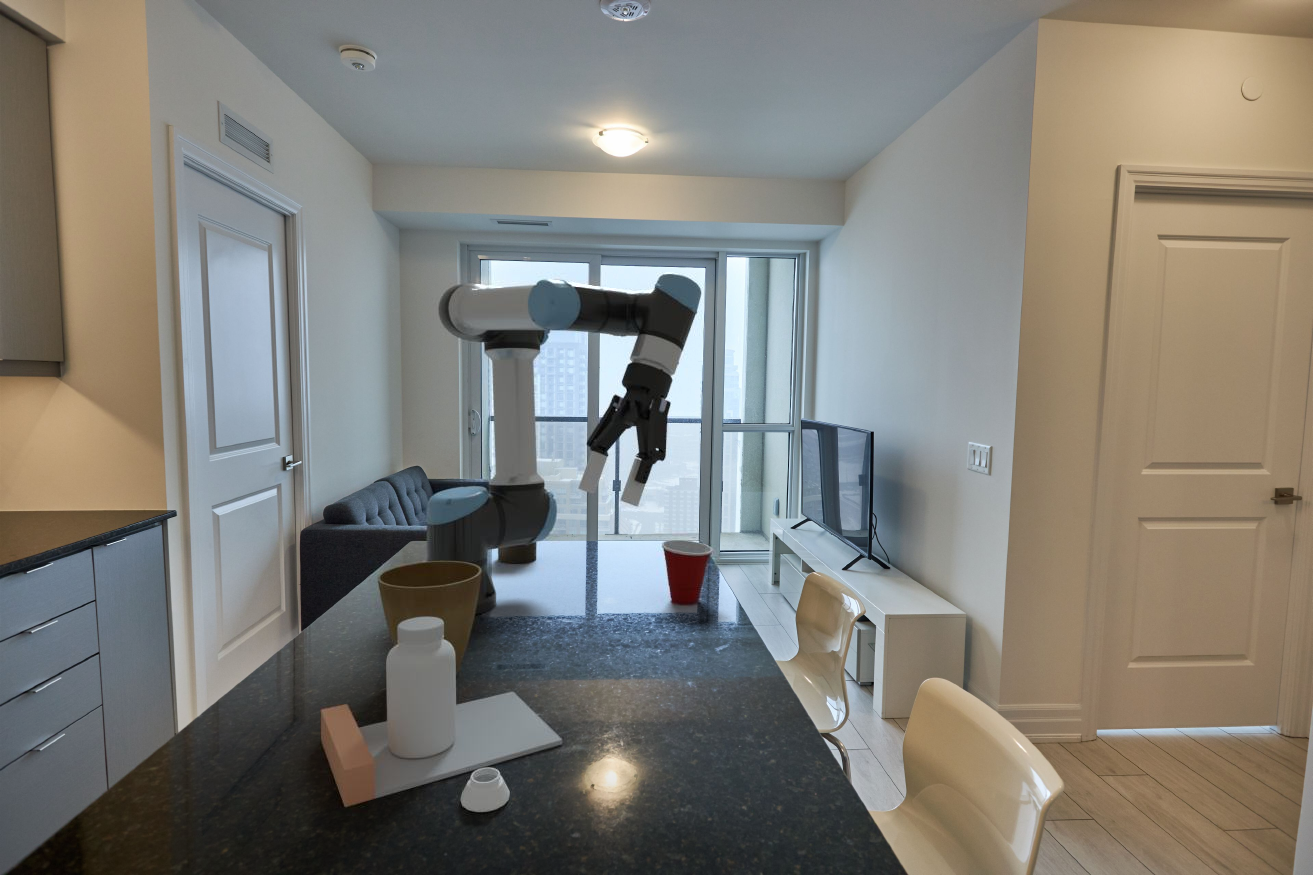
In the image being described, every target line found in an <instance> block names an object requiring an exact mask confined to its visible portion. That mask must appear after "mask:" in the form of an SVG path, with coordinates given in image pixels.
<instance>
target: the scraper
mask: <svg viewBox="0 0 1313 875" xmlns="http://www.w3.org/2000/svg"><path fill="white" fill-rule="evenodd" d="M320 728H321V729H320V731H321V732H320V733H321V734H320V735H321V736H320V738H321V739H320V740H321V744H322V747H323V750H324V752H325V755H326V759H327V760H328V761H327V762H328V763H329V764H328V765H329V766H330V769H331V770H330V771H331V773H332V774H333V775H332V776H333V778H334V780H335V785H336V786H337V789H338V791H339V794H340V797H341V798H340V799H341V801H342V803H343V806H344V808H348V807H350V806H354V805H358V804H361V803H364V802H367V801H371V800H375V799H379V798H382V797H386V796H389V795H392V794H395V793H396V794H397V793H398V792H402V791H405V790H409V789H411V788H416V787H419V786H423V785H427V784H430V783H433V782H437V781H440V780H444V779H447V778H451V777H454V776H457V775H460V774H464V773H468V772H472V771H476V770H478V769H481V768H486V767H488V766H491V765H495V764H500V763H502V762H507V761H509V760H512V759H515V758H519V757H523V756H526V755H530V754H533V753H536V752H540V751H543V750H547V749H551V748H555V747H557V746H561V745H563V739H562V738H561V737H560V736H559V735H558V734H557V733H556V732H555V731H554V730H553V729H552V728H551V727H550V726H549V725H548V724H547V723H546V722H545V721H544V720H543V719H542V718H541V717H540V716H539V715H538V714H537V713H536V712H534V711H533V710H532V709H531V708H530V707H529V706H528V705H527V704H526V702H525V701H524V700H522V699H521V698H520V697H519V696H518V694H517V693H515V692H514V691H509V692H505V693H500V694H496V695H492V696H488V697H484V698H480V699H475V700H472V701H466V702H463V703H458V704H457V703H456V738H455V741H454V743H453V744H452V745H451V746H450V747H449V748H448V749H446V750H444V751H443V752H441V753H438V754H436V755H432V756H429V757H424V758H402V757H398V756H396V755H394V754H393V753H392V752H391V751H390V749H389V746H388V731H387V720H385V721H382V722H377V723H372V724H368V725H365V726H361V727H359V726H358V723H357V722H356V719H355V717H354V715H353V713H352V711H351V708H350V707H349V705H348V703H346V704H341V705H336V706H332V707H331V706H330V707H327V708H322V709H320Z"/></svg>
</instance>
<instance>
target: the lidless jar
mask: <svg viewBox="0 0 1313 875" xmlns="http://www.w3.org/2000/svg"><path fill="white" fill-rule="evenodd" d="M510 793H511V791H510V789H509V787H508V786H507V783H506V782H505V780H504V778H503V776H502V775H501V772H500V771H499V769H496V768H495V767H482V768H479V769H475V770H473V772H472V773H471V775H470V779H469V780H468V781H467V783H466V784H465V787H464V789H463V790H462V793H461V796H460V802H461V803H460V804H461V806H462V807H463V808H465V809H466V810H467V811H471V812H475V813H484V812H485V813H487V812H491V811H495V810H498V809H499V808H501V807H503V806H505V804H506V803H507V802H509V799H510Z"/></svg>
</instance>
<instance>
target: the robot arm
mask: <svg viewBox="0 0 1313 875" xmlns="http://www.w3.org/2000/svg"><path fill="white" fill-rule="evenodd" d="M701 289H702V288H701V287H700V286H699V284H698V283H697V282H695V281H694V280H693V279H692V278H689V277H688V276H685V275H682V274H679V273H676V272H665V273H663V274H662V275H660V276H659V277H658V279H657V281H656V283H655V284H654V289H648V290H647V289H646V290H627V289H626V290H625V289H619V288H611V287H605V286H598V285H590V284H584V283H583V284H582V283H577V282H570V281H566V280H564V279H541V280H538V281H537V282H536V284H528V285H525V284H524V285H515V286H514V285H513V286H496V285H487V284H481V283H480V284H479V283H459V284H456V285H454V286H452V287H450V288H448V289H446V291H445V292H444V293H443V294H442V295H441V298H440V300H439V302H438V310H437V312H438V317H439V320H440V323H441V325H442V326H443V327H444V329H446V331H447V332H448V333H449V334H451V335H453V336H454V337H456V338H457V339H460V340H464V341H469V342H474V343H475V342H477V343H483V349H484V350H483V352H484V354H485V356H487V357H488V358H489V359H490V360H491V370H492V371H491V372H492V395H493V396H492V398H493V399H492V400H493V425H494V426H493V430H494V431H493V432H494V434H493V436H494V452H495V453H494V462H495V464H494V466H495V475H494V476H493V477H492V479H490V481H489V482H488V489H487V488H486V487H484V486H481V485H480V486H478V485H469V486H459V487H453V488H452V487H451V488H448V489H445V490H441V491H439V492H436V493H434V494H433V495H432V496H431V497H430V498H428V500H427V508H426V516H425V522H426V562H429V561H460V562H467V563H472V564H475V565H477V566H479V567H480V568H481V570H482V571H481V580H480V588H479V595H478V601H477V606H476V611H475V615H479V614H482V613H485V612H488V611H491V610H492V609H493V608H495V607H496V605H497V590H496V589H495V585H494V583H493V579H492V577H491V574H490V570H489V567H488V565H489V564H488V553H489V552H488V551H489V550H490V551H491V550H496V549H497V550H498V548H503V547H509V546H515V545H528V544H531V543H533V542H542V541H543V540H545V539H546V538H547V537H548V536H549V535H550V533H552V531H553V529H554V527H555V525H556V521H557V516H558V515H557V514H558V505H557V500H556V498H554V497H555V495H554V494H553V491H552V490H550V489H549V488H548V487H545V479H543V477H542V476H541V475H540V474H539V473H538V467H537V466H538V463H537V462H538V460H537V437H536V436H537V434H536V432H537V431H536V407H535V406H536V405H535V404H536V402H535V400H536V399H535V398H536V397H535V374H534V373H535V372H534V371H535V368H534V360H535V359H536V358H537V357H538V356H539V354H541V346H542V345H544V344H545V343H546V342H547V341H548V339H549V334H550V333H551V331H566V332H580V333H581V332H584V333H593V334H606V335H609V336H611V335H612V336H614V337H622V338H624V337H636V339H635V340H636V341H635V343H634V346H633V349H632V351H631V354H630V357H629V360H630V361H631V362H630V363H628V364H627V366H626V368H625V372H624V374H623V377H622V380H621V385H622V386H623V388H625V390H626V392H625V394H624V395H623V397H622V396H620V395H618V394H614V395H613V396H612V397H611V398H612V399H611V400H610V403H609V404H608V407H607V409H606V410H605V412H604V414H603V415H602V417H601V419H600V420H599V421H598V424H596V427H595V428H594V430H593V431H592V433H591V434H590V436H589V437H588V439H587V441H586V446H587V447H589V450H590V451H591V452H590V455H589V458H588V460H587V462H586V466H585V468H584V471H583V474H582V477H581V480H580V483H579V486H578V490H581V491H584V492H586V493H590V494H591V495H595V494H596V493H595V492H596V490H597V488H598V485H599V482H600V479H601V476H602V474H603V471H604V468H605V465H606V462H607V459H608V457H609V452H608V451H609V450H610V449H611V448H612V447H613V445H614V444H615V443H616V442H617V441H618V440H619V438H620V437H621V436H622V435H623V434H624V433H625V431H626V430H628V429H631V428H632V427H635V428H636V438H637V439H636V440H637V448H638V453H637V454H635V457H636V458H634V460H633V463H632V466H631V469H630V472H629V474H628V478H627V480H626V483H625V486H624V489H623V492H622V495H621V497H620V502H624V503H626V504H629V505H631V506H635V507H639V504H640V501H641V498H642V496H643V493H644V490H645V486H646V484H647V483H648V480H649V477H650V474H651V471H652V468H653V466H654V465H656V464H657V463H658V461H660V462H663V461H665V459H666V456H667V437H668V435H667V434H668V415H669V412H670V408H671V404H672V403H671V401H670V400H667V398H668V395H669V392H670V389H671V386H672V383H673V381H674V380H673V378H672V376H674V375H675V374H676V372H677V368H678V365H679V364H680V360H681V355H682V352H683V351H684V347H685V345H686V343H687V340H688V337H689V334H690V332H691V329H692V326H693V323H694V319H695V317H696V316H697V314H698V308H699V305H700V302H701V297H702V290H701Z"/></svg>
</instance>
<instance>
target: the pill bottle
mask: <svg viewBox="0 0 1313 875" xmlns="http://www.w3.org/2000/svg"><path fill="white" fill-rule="evenodd" d="M397 634H398V644H397V645H396V646H394V645H393V647H392V648H391V649H390V650H389V651H388V654H387V656H386V660H385V662H386V663H385V670H386V672H385V673H386V674H385V676H386V677H385V679H386V721H387V731H388V746H389V749H390V751H391V752H392V753H393V754H394V755H396V756H398V757H402V758H424V757H429V756H432V755H436V754H438V753H441V752H443V751H444V750H446V749H448V748H449V747H450V746H451V745H452V744H453V743H454V741H455V738H456V705H457V695H456V694H457V686H456V685H457V680H456V679H457V677H456V676H457V675H456V662H455V651H454V648H453V646H452V644H451V643H449V642H448V641H446V640H444V639H443V638H444V622H443V620H442V619H440V618H436V617H417V618H411V619H408V620H405V621H403V622H401V623H400V624H399V625H398V627H397Z"/></svg>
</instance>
